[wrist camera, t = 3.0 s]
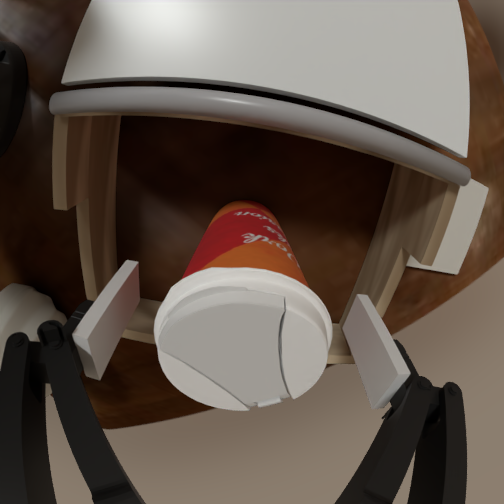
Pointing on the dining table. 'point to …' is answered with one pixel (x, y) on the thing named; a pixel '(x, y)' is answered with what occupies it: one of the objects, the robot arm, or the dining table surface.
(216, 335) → the coffee cup
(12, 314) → the vase
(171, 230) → the dining table surface
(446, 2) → the lid
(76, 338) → the robot arm
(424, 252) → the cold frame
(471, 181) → the stone tile
